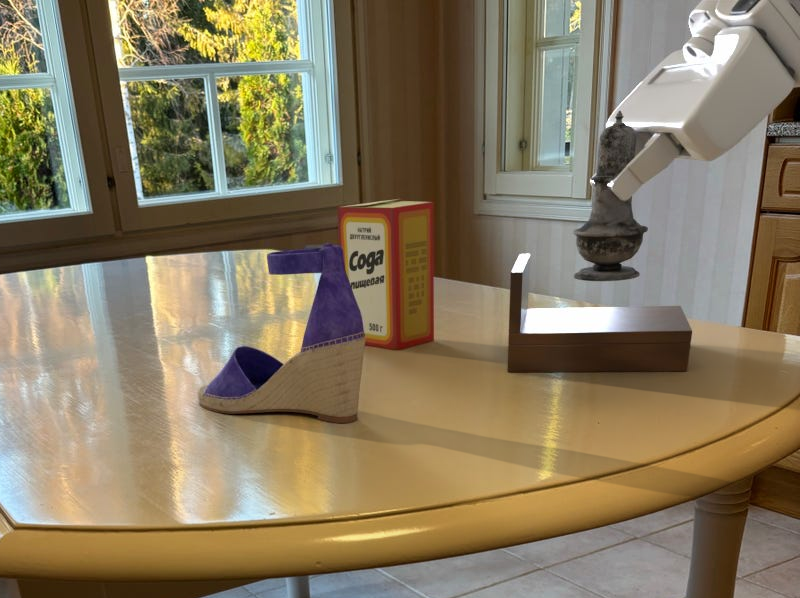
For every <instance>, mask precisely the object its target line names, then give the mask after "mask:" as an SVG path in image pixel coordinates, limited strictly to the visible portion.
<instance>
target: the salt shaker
mask: <svg viewBox="0 0 800 598" xmlns="http://www.w3.org/2000/svg"><path fill="white" fill-rule="evenodd" d="M623 117H624V116H622V113H621V111H619V112H618V113H617V115H616V117H615V118H616V123H613V124H612V126H610V127H608V128H606V127H605V129H603V130H602V131H601V133H600V135H599V137H598V144H597V159H596V169H595V170H596V172H595V173H596V175H595V176H594V177H593V176H592V177H591V178H590V180H591V181H593V182H594V183H595V184H594V188H593V201H592V203H593V204H592V208H591V212H590V215H589V218H588V220H587V221H586V222H585V223H584V224H583V225H582V226H581V227H578V228H575V229H573V231H572V234H573V235H574V236H575V237H576V239H575V245H576V249H577V252H578V254H579V255H580V257H582V259H583V260H584V261H586V262H589V263H590V264H591V263H592V266H588V267H587V266H586V267H583V268H581V269H579V270H578V271H577V272H575V273H574V274H573V278H574V279H575V280H578V281H579V280H580V281H584V282H585V281H586V282H616V281H617V282H618V281H626V280H632V279H637V278H638V277H640V275H641V273H640V272H639V271H638V270H636V269H635V268H634V267H632V266H626V265H622V263H624V262H627V261H629V260H631V259H632V258H633V257H634V256H635V255H636V254H637V253H638V252H639V250H640V248H641V246H642V243H643V241H644V240H643V239H644V234H645V233H647V232H648V230H649V227H648V226H646V225H643V224H642V225H641V224H640V223H639V222H638V221H637V220H636V219H635V218H634V212H633V205H632V204H633V203H632V202H633V195H632V196H631V197H630V198H629V199H628V200H626V201H623V200H620V199H617V198H616V197H615V196H614V195H613V194H612V193H611V192H610V191H609V189H608V187H607V184H608V182H609V180H610V179H611V178H612V177H614V175H615V174H616V173H617V172H618V171H619V170H620V168H621V167H626V165H627V164H628V163H629V162H631V161H632V160H633V159H634V158H635V148H636V132H635V130H634V129H633V128H632V127H630V126H628V125H626V124H625V123H623V122H622V118H623Z"/></svg>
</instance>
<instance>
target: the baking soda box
mask: <svg viewBox="0 0 800 598" xmlns="http://www.w3.org/2000/svg"><path fill="white" fill-rule="evenodd" d="M398 200H399V198H397V199H395V201H394V199H389V200H379V201H372V202H365V203H357V204H349V205H343V206H337V207H336V208H337V209H336V211H337V228H338V229H337V230H338V244H339V245H338V246H341V247H342V248H343V254H344V263H345V269H346V273H347V276H348V279H349V282H350V285H351V288H352V291H353V294H354V296H355V299H356V301H357V304H358V306H359V309H360V312H361V315H362V320H363V328H364V332H365V338H366V340H365V346H367V347H375V348H382V349H386V350H393V351H399V350H403V349H407V348H411V347H414V346H418V345H422V344H426V343H429V342H430V343H431V342H434V341H435V289H434V288H435V285H434V284H435V283H434V281H435V278H434V274H435V272H434V270H435V268H434V267H435V263H434V257H435V256H434V255H435V254H434V248H435V247H434V202H433V201H412V200H411V201H409V200H400V201H398Z"/></svg>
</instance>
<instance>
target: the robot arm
mask: <svg viewBox="0 0 800 598" xmlns="http://www.w3.org/2000/svg"><path fill="white" fill-rule="evenodd" d="M688 25H689V28H690V33H691V35H692V36H691V37H690V39H688V41H686V43H685V44H684V45H683V46H682V49H678V50H675V51H673V52H671V53H670V54H669V55H667V56H666V57H665V58H664V59H663V60H662V61H661V62H660V63H658V64H657V65H656V66H655V67H654V69H652V70H651V71H650V72H649V74H648V75H647V76H645V77H644V79H643V80H642V81H640V83H639V84H638V85H637V86H636V87H635V88H634V89H633V90H632V91H631V92H630V94H628V95H627V96H626V97H625V99H624V100H623V101H622V102H621V103H620V104H619V105H618V106H617V107H616V108H615V110H614V111H613V112H612V113H611V115H610V116H609V118H608V119H607V121H606V124H605V129H606V128H608V127H610V126H612V124H613V123H616V118H615V117H616V115H617V113H618V112H619V111H621V113H622V116H624V117H623V118H622V122H623V123H625V124H626V125H628V126H630V127H632V128H633V129H634V130H635V132H636V148H635V158H634V159H633V160H632V161H631V162H629V163H628V164H627V165H626V167H621V168H620V170H619V171H618V172H617V173H616V174H615V175H614V177H612V178H611V179H610V180H609V182H608V184H607V187H608V189H609V191H610V192H611V193H612V194H613V195H614V196H615V197H616V198H617V199H620V200H623V201H626V200H628V199H629V198H630V197H631V196H632V197H633V195H634V194H636V192H638V190H639V189H641V187H642V186H643V185H644V184H646V183H647V182H649V181H650V180H652V179H653V178H655V177H656V176H657V175H659V174H660V173H661V172H662V171H664V170H666V169H667V168H668V167H669V166H670V165H671V163H673V161H674V160H675V159H680V160H681V159H683V160H692V161H702V162H712V161H715V160H716V159H718V158H720V157H721V156H723V155H725V154H726V153H728V152H729V151H730V150H732V149H733V148H734V147H736V146H737V145H738V144H739V143H740V142H742V140H743V139H745V137H746V136H748V135H749V134H750V133H751V132H752V131H753V130H754V129H755V128H756V127H758V125H760V124H761V123H762V122H763V121H764V120H765V119H766V118H767V117H768V116H769V115H770V114H771V113H772V112H773V111H774V110H775V109H776V108H778V106H779V105H781V104H782V103H783V101H784V100H785V99H786V98H787V97H788V96H789V95H790V93H791V92H792V91H793V89H794V88H800V0H701V1H700V2H699V3H698V4H697V5H696V6H695V7H694V9H693V10H691V12H690V14H689V18H688ZM595 175H596V172H595V173H594V174H593V175H592V177H594V176H595ZM589 184H590V186H591V187H592V189H594V184H595V183H594V182H593V181H591V179H590V181H589Z"/></svg>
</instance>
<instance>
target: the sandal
mask: <svg viewBox="0 0 800 598" xmlns="http://www.w3.org/2000/svg"><path fill="white" fill-rule="evenodd" d="M266 262H267V270H268V275H271V276H272V275H273V276H274V275H275V276H285V275H302V274H304V275H305V274H320V276H319V279H318V280H319V281H318V282H317V283H318V285H317V288H316V291H315V295H314V298H313V301H312V305H311V309H310V312H309V316H308V319H307V323H306V326H305V330H304V333H303V338H302V343H301V347H300V351H299V352H297V353H296V354H295V355H293V356H292V357H290V358H289V359H288V360H287V361H286V362H285V363H283V362H281V361H280V360H279V359H277V358H276V357H274V356H273V355H271V354H269V353H267V352H266V351H263V350H261V349H258V348H255V347H252V346H248V345H243V346H237V347H236V348H235V349H234V351H233V352H232V354H231V356H229V359H228V361H227V362H226V363H225V365H224V366H223V367H222V369H221V370H220V371H219V373H217V375H216V376H215V377H213V379H212V380H211V381H210V382H209V383H208V384H206V385H203V386H201V387H200V388H198V390H197V399H198V402H199V403H198V404H199V405H200V406H201V407H202V408H204V409H207V410H208V411H212V412H216V413H221V414H229V415H230V414H231V415H235V414H236V415H237V414H239V415H240V414H256V413H271V412H272V413H274V412H286V413H287V412H291V413H292V412H293V413H301V414H308V415H313V416H317V417H318V418H317V419H318V420H320V421H324V422H330V423H336V424H350V423H352V422H355V421H357V420H358V412H359V411H358V409H359V400H360V390H361V389H360V388H361V380H362V374H363V373H362V371H363V364H364V356H365V347H366V345H365V340H366V338H365V332H364V328H363V320H362V315H361V312H360V309H359V306H358V304H357V301H356V299H355V296H354V294H353V291H352V288H351V285H350V282H349V279H348V276H347V273H346V269H345V263H344V254H343V248H342V247H341V246H339V245H333V244H332V243H329V242H326V243H324V244H307V245H306V246H305V247H304V249H288V250H279V251H273V252H272V251H271V252H269V253H267V254H266Z"/></svg>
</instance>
